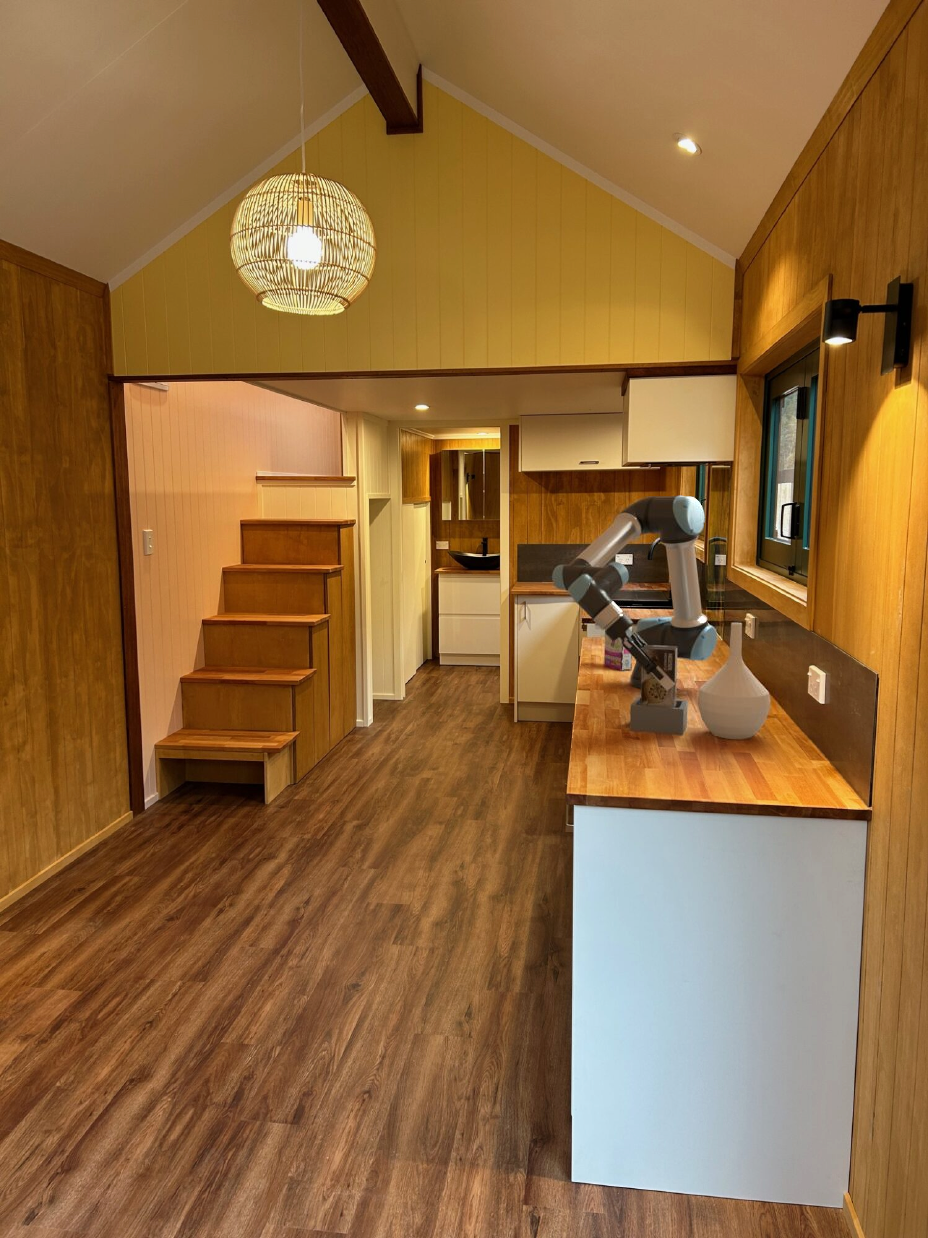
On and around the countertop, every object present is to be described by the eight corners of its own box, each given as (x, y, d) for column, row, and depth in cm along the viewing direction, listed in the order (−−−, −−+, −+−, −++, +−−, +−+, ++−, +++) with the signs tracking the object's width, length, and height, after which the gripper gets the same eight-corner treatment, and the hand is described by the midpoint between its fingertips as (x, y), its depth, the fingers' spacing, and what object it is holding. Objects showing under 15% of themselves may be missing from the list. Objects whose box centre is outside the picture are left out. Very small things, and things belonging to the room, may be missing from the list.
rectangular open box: (636, 721, 241) (636, 696, 240) (686, 725, 237) (687, 700, 236) (630, 730, 231) (630, 705, 230) (682, 735, 226) (683, 709, 226)
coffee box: (676, 704, 234) (678, 645, 232) (674, 709, 228) (676, 649, 226) (642, 701, 237) (644, 644, 235) (639, 706, 231) (641, 647, 229)
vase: (745, 724, 238) (749, 617, 234) (783, 742, 220) (788, 627, 216) (684, 728, 234) (687, 619, 230) (717, 746, 216) (722, 629, 212)
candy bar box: (632, 670, 316) (633, 626, 314) (621, 671, 314) (622, 627, 312) (614, 665, 326) (615, 622, 324) (603, 666, 324) (604, 623, 322)
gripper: (610, 626, 245) (666, 686, 241) (597, 636, 226) (657, 701, 223) (629, 609, 242) (686, 669, 239) (617, 617, 224) (679, 682, 221)
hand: (672, 684), depth 231 cm, fingers closed on coffee box, 6 cm apart
